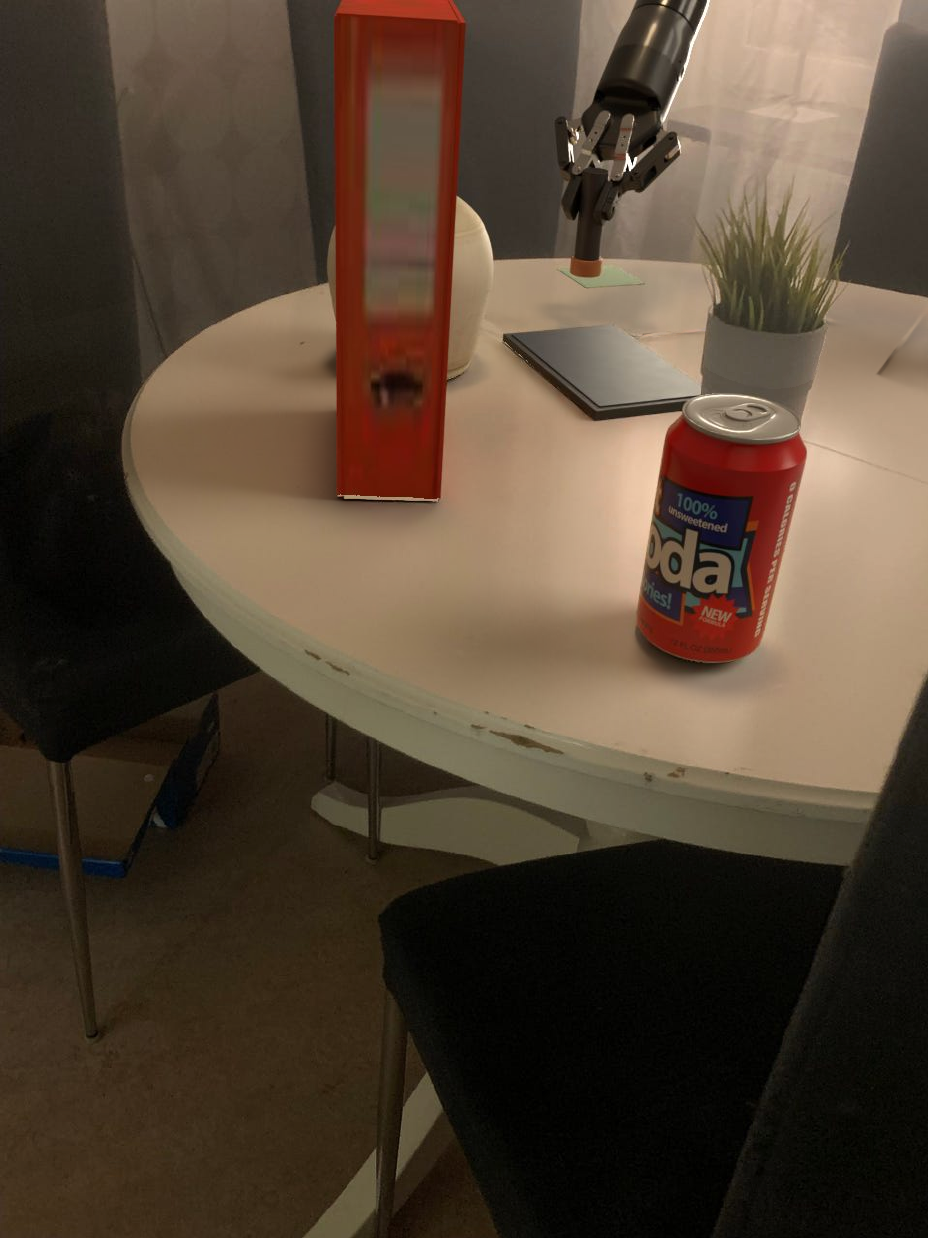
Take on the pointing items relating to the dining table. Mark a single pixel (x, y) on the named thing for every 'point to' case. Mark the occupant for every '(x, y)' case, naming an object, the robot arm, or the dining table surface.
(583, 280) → the pad
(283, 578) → the dining table surface
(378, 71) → the file binder
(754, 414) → the soda can
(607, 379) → the tablet
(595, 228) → the black orange cylinder
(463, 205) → the jug
